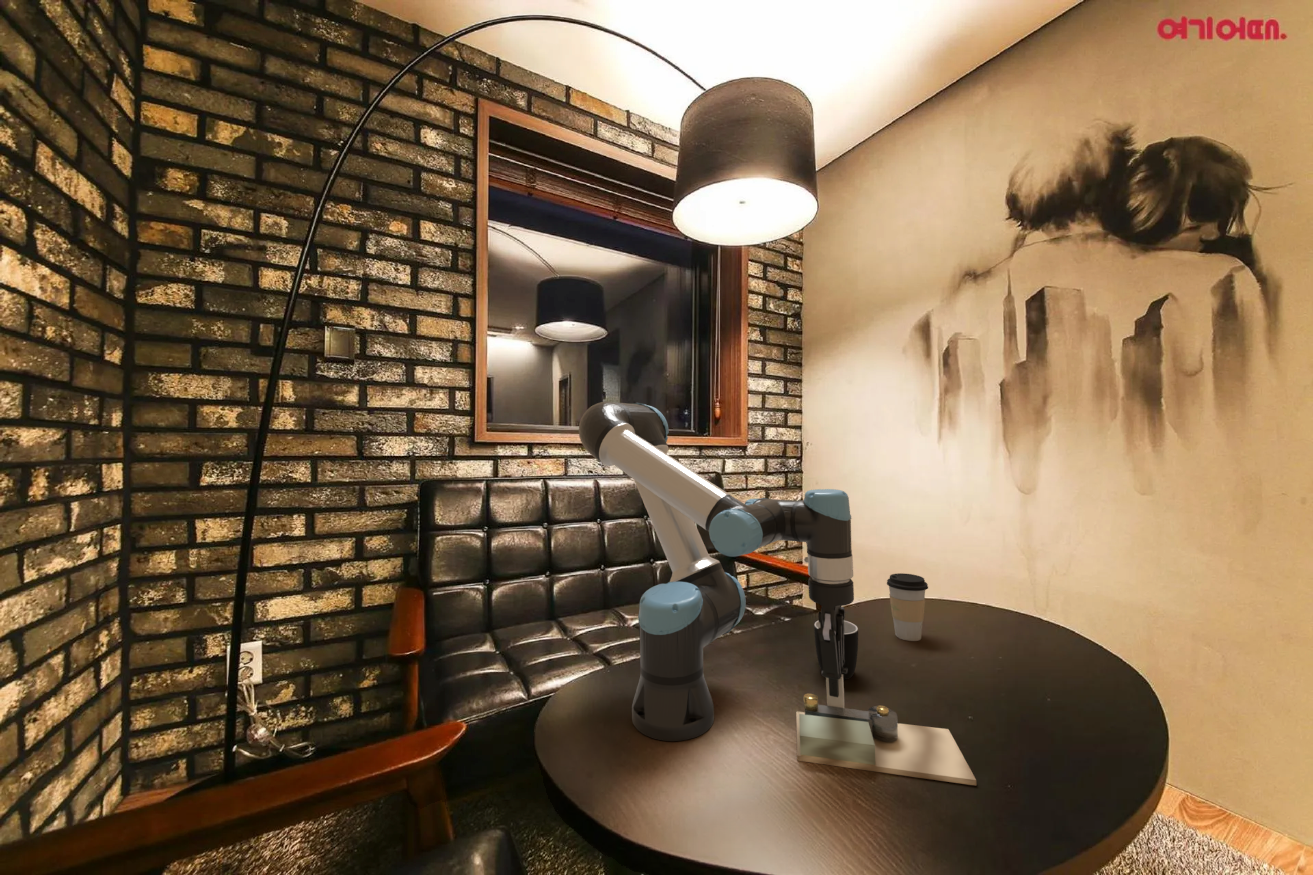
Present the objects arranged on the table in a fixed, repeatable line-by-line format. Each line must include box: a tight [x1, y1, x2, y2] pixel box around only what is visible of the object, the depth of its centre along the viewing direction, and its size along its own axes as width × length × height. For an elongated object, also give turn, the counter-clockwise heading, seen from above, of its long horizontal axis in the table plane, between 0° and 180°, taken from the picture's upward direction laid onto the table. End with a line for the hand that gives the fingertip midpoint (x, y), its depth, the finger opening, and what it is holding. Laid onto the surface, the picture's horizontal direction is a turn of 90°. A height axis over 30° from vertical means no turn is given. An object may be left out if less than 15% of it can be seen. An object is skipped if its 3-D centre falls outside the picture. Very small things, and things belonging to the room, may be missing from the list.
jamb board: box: [795, 711, 977, 786], centre depth 81 cm, size 25×13×4 cm, turn 75°
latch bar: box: [803, 693, 898, 742], centre depth 84 cm, size 15×4×5 cm, turn 72°
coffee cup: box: [886, 572, 929, 642], centre depth 125 cm, size 9×9×15 cm
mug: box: [813, 620, 859, 680], centre depth 108 cm, size 12×9×10 cm
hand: (836, 711), depth 87 cm, fingers closed
